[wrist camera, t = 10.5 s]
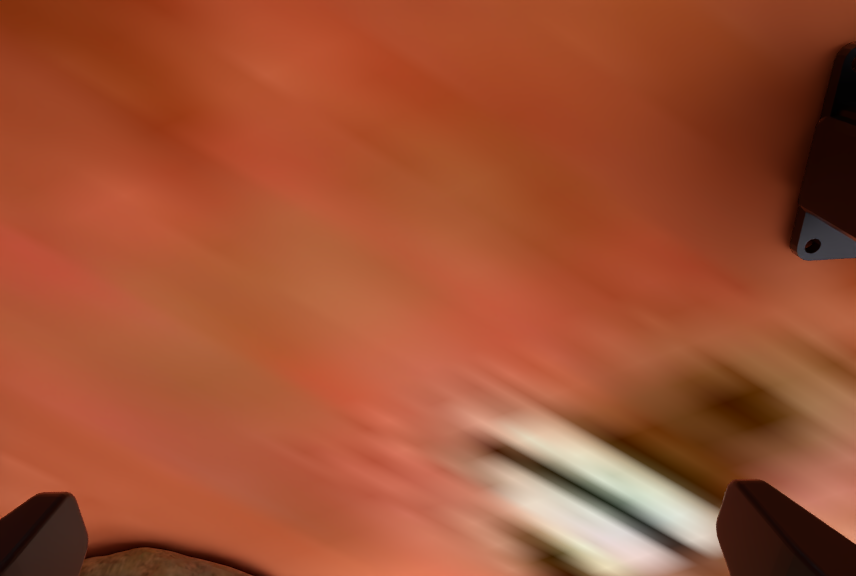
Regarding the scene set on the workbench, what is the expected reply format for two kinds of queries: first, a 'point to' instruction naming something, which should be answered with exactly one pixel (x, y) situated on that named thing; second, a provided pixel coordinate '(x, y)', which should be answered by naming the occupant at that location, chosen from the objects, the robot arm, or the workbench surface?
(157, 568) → the weight
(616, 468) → the workbench surface
